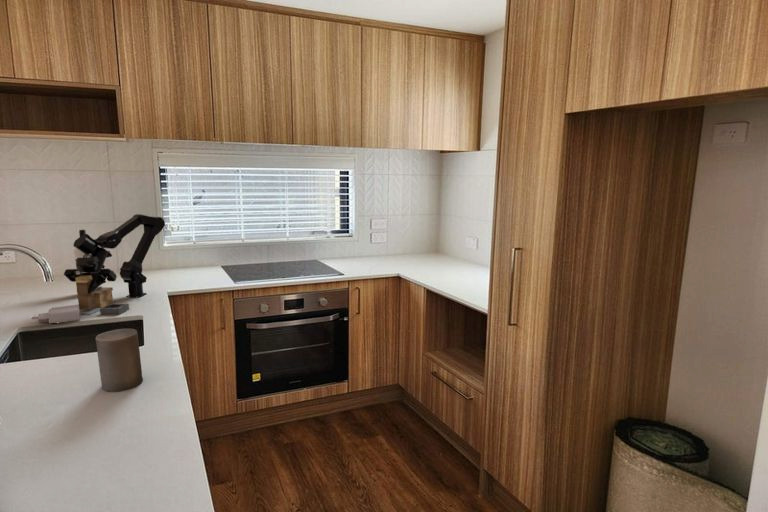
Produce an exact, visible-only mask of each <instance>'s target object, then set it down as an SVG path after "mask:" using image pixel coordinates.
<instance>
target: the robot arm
mask: <svg viewBox="0 0 768 512" xmlns="http://www.w3.org/2000/svg"><path fill="white" fill-rule="evenodd" d="M141 225H142V226H143V233H142V235H141V238H140V240H139V242H138V244H137V246H136V248H135V250H134V251H133V254H132V256H131V259H130V260H128V261H124V262H123V263H122V265H121V267H120V269H119V270H120V272H119V276H120V278H121V279H122V280H123V282H124V283H126V284H127V286H128V288H127V289H128V294H127V295H126V296H125V298H141V297H144V296H146V295H148V294H147V292H144V288H143V284H144V283H146V282H147V276H146V275H144V274H143V262H144V261H145V258H146V256H147V254H148V252H149V251H150V248H151V246H152V244H153V241H154V240H155V237H156V236H157V235H159V234H160V233H161V232H162V230H163V229H164V228H165V225H166V222H165V219H164V218H163V217H162V216H149V215H145V214H140V213H138V214H137V213H136V214H134V215H133V216H132V217H131V218H130V219H127V220H126V221H125V222H124V223H122V224H121V225H120V226H118V227H117V228H115V229H113V230H109V231H107V232H105V233H102V234H101V235H99V236H98V237H97V238H93V237H91V235H89V234H88V233H86V234H83V236H81V237H80V236H79V237H78V238H77V239H75V241H74V242H73V247H74V249H75V248H77V249H78V250H80V251H81V252H83V253H84V254H86V255H88V254H91V255H90V257H89V258H77V263H76V262H75V267H76V266H79V267H81V270H83V271H84V272H80V271H78V270H77V269H76V268H68V269H65V270H64V273H63V276H64V277H66V278H67V279H68V280H69V281H70V282H75V283H76V277H79V276H92V282H91V284H90V287H89V289H88V293H89V294H90V293H91V292H92V291H94V290H95V289H96V288H97V287H99V286H102V285H104V284H105V283H106V282H107V281H108V282H115V281H116V280H117V278H118V276H117V274H116V273H115V272H114V271H113V269H112V268H106V265H104V264H105V262H106V259H108V258H111V257H113V254H112V253H111V251H110V250H107V249H116V248H117V247H118V246H119V245H120V244H121V243H122V240H123V238H125V237H126V236H127V235H129V234H130V233H131V232H133V231H135V230H136V229H137V228H139V226H141Z"/></svg>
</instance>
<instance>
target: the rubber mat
mask: <svg viewBox="0 0 768 512" xmlns="http://www.w3.org/2000/svg"><path fill="white" fill-rule="evenodd" d="M98 312H100V308H92V309H90V310H80V314H92V315H93V313H94V314H95V313H98Z"/></svg>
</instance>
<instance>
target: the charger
mask: <svg viewBox="0 0 768 512" xmlns="http://www.w3.org/2000/svg"><path fill="white" fill-rule="evenodd" d="M80 318H81V315H80V310H79V304H73V305H65V306H56V307H55V306H54V307H51V308H49V309H48V312H45V313H39V314H38V315H37V316H32V317H31V320H38V322H45V321H48V323H49V324H50V323H57V322H64V323H69V322H68V321H71V322H77V321H76V320H79V321H80ZM57 324H58V323H57Z"/></svg>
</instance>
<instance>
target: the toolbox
mask: <svg viewBox="0 0 768 512" xmlns="http://www.w3.org/2000/svg"><path fill="white" fill-rule="evenodd" d="M113 290H114V289H113V287H112V286H111V287H103V286H102V285H100V286H99V287H97V288H96V289H95V290H94V291H93V292H94V300H95V307H94V308H102V307H105V306H107V305H109V304H114V300H113V299H114V298H113Z"/></svg>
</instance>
